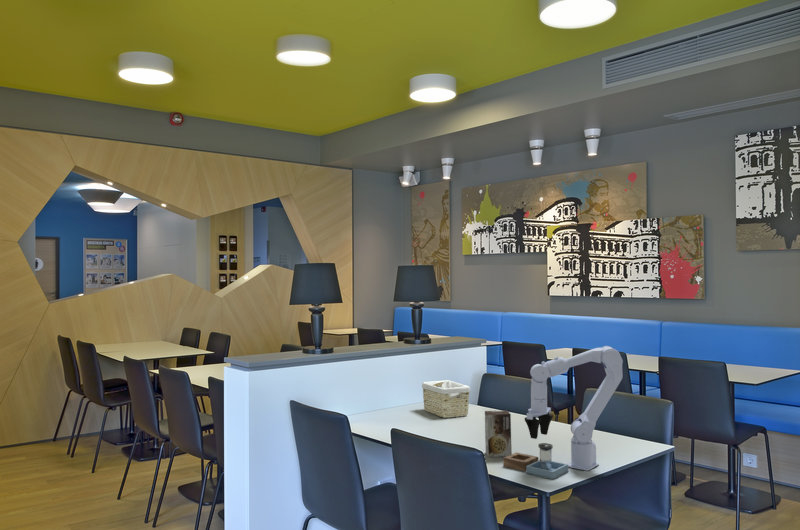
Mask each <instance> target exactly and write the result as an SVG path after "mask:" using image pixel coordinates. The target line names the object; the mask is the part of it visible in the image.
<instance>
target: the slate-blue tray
mask: <svg viewBox="0 0 800 530" xmlns="http://www.w3.org/2000/svg"><path fill="white" fill-rule="evenodd" d="M525 472H526V474H527V475H532V476H536V477H540V478H544V479H549V480H555V479H557V478H559V477H560V476H562V475H564V474H566V473H568V472H569V467H568V463H563V462H558V461H553V460H552V471H549V470H544V469H540V459H538V461H537V462H535V463H532V464H530V465H528V466H526V471H525Z"/></svg>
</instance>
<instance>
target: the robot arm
mask: <svg viewBox="0 0 800 530" xmlns="http://www.w3.org/2000/svg"><path fill="white" fill-rule="evenodd" d="M589 362H594V363H597V364H602V365H603V368H604V371H605V374H606V375H605V377H604V379H603V381H602V382H601V384H600V385H599V387H598V388H597V390H596V392H595V393H594V395H593V396H592V399H591V400H590V402H589V403H588V405H587V407H586V408H585V410H584V412H582V413H581V414H580V415H579V416H578V418H577V419H575V420H574V421H572V423H571V424H570V432H571V433H572V434H573V436H572V437H571V438H570V461H571V462H570V463H569V464H568V463H567V464H568V468H572V469H578V470H582V471H586V472H588V471H590V470H592V469H594V468H595V467H597V466H599V463H598V462H597V447H596V444H595V442H594V440H592V438H593V434H594V433H593V431H594V430H595V428H596V424H597V421H598V419H599V417H600V415H601V414H602V413H603V411H604V409H605V408H606V406H607V404H608V402H609V401H610V400H611V397H612V396H613V395H614V393H615V392H616V390H617V388H618V387H619V385H620V383H621V381H622V380H623V376H624V375H623V363H624V360H623V358H622V356H621V354H620V351H618V350H617V349H615V348H614V347H611V346H609V345H604V346H602V347H595V348H591V349H590V350H586V351H583V352H581V353H578V354H576V355H574V356H571V357H568V358H564V357H562V356H560V357H559V356H554V359H551V360H547V361H546V362H545V361H544V360H543V361H541V363H540V364H539V363H537V364H534V365H533V366H531V368H530V371H529V373H530V374H529V375H530V376H531V379H530V380H531V381H530V382H531V383H530V408H528V409H527V411H528V412H527V413H526V417H524V422H525V424H526V425H527V428H528V432H529V435H530V439H534V440H537V439H538V435H539V430H540V434H541V435H544V436H547V435H548V431H549V428H550V424H551V421H552V420H553V418H554V415H553V414H552V407H548V385H547V380H548V378H550V379H551V378H553V377H557V376H560V375H563V374H566V373H567V372H568V371H569V369H570V368H573V367H576V366H580V365H583V364H586V363H589ZM537 418H538V419H537Z"/></svg>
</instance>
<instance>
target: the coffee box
mask: <svg viewBox="0 0 800 530" xmlns="http://www.w3.org/2000/svg"><path fill="white" fill-rule="evenodd" d="M511 417H512V415H511V413H510V412H509V410H484V435H485V436H484V438H485V454H486V455H487V457H488V458H499V457H500V458H501V457H503V458H504V457H507V456H509V455H511V454H513V452H512V422H511V421H512V419H511Z"/></svg>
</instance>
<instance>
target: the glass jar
mask: <svg viewBox="0 0 800 530" xmlns="http://www.w3.org/2000/svg"><path fill="white" fill-rule="evenodd" d="M538 448H539V460H540V469H544V470H549V471H552V461H553V460H552V459H553V458H552V457H553V456H552V452H553V449H554V447H553V444H552V443H547V442H542V443H538Z"/></svg>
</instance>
